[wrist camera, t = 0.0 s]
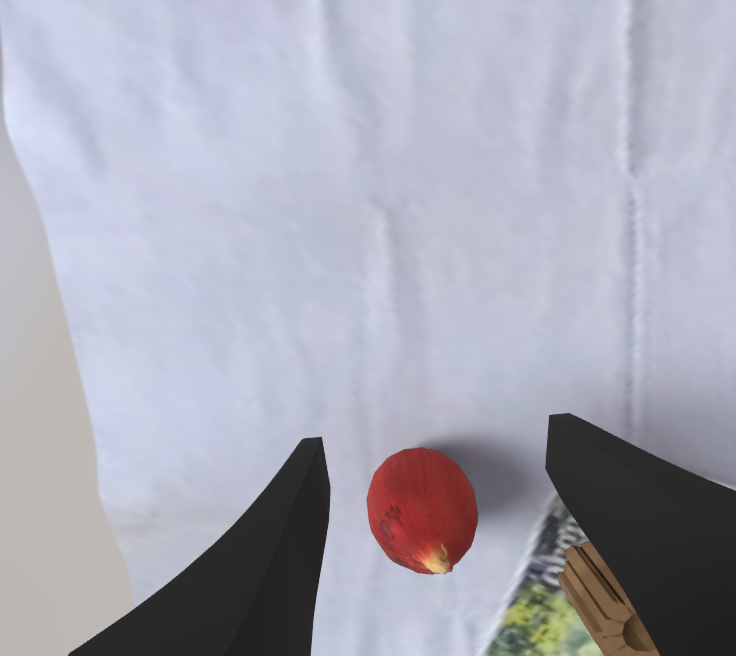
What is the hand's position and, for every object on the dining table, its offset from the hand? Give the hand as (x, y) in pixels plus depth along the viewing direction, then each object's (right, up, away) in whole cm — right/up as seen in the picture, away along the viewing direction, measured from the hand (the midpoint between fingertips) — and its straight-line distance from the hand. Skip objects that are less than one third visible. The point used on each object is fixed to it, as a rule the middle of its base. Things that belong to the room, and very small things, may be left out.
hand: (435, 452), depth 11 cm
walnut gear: (+14, -13, +13) cm, 23 cm away
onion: (+1, -5, +12) cm, 13 cm away
